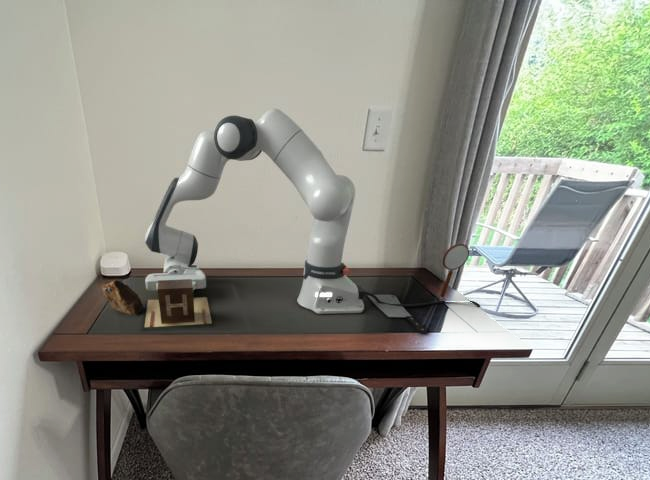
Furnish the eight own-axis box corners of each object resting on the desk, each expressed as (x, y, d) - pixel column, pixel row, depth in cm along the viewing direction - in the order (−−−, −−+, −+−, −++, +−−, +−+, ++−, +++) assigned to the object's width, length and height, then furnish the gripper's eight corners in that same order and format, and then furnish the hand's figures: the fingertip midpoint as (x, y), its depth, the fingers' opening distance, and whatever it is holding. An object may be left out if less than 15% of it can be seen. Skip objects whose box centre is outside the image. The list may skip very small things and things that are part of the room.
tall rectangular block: (193, 311, 113) (191, 279, 107) (195, 322, 107) (192, 288, 101) (162, 313, 112) (158, 280, 106) (161, 324, 106) (157, 289, 100)
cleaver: (397, 333, 104) (430, 333, 104) (397, 332, 104) (431, 332, 104) (366, 295, 129) (393, 295, 129) (366, 294, 128) (394, 294, 129)
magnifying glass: (430, 302, 124) (449, 244, 113) (427, 300, 126) (446, 243, 115) (453, 301, 125) (474, 244, 114) (450, 299, 127) (471, 243, 116)
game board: (206, 299, 124) (206, 296, 123) (212, 325, 107) (212, 322, 106) (148, 302, 121) (147, 298, 120) (144, 329, 104) (144, 326, 104)
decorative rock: (104, 311, 114) (98, 279, 108) (117, 304, 119) (111, 273, 113) (135, 318, 110) (129, 285, 104) (146, 311, 115) (142, 279, 109)
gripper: (144, 267, 122) (142, 282, 111) (204, 265, 125) (207, 279, 114) (147, 285, 126) (144, 300, 114) (204, 282, 128) (207, 297, 117)
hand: (176, 290), depth 114 cm, fingers open, 8 cm apart
